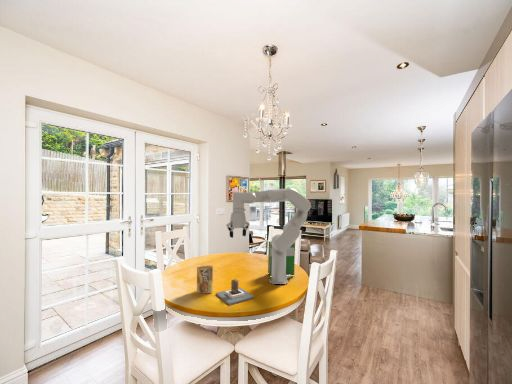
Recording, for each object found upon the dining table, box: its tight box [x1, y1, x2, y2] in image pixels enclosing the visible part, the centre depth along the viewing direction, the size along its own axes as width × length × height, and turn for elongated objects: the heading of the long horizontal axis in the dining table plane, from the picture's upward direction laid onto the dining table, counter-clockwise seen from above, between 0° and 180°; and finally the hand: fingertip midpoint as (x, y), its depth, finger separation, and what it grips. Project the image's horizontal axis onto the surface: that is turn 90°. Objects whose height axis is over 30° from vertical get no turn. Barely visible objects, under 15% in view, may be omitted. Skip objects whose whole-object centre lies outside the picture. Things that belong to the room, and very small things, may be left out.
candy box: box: [196, 264, 214, 294], centre depth 142 cm, size 9×4×15 cm, turn 93°
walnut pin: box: [230, 279, 239, 295], centre depth 136 cm, size 4×4×8 cm
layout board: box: [215, 286, 255, 306], centre depth 136 cm, size 16×16×2 cm
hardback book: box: [267, 241, 296, 277], centre depth 173 cm, size 18×7×24 cm, turn 98°
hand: (237, 236), depth 158 cm, fingers open, 9 cm apart
